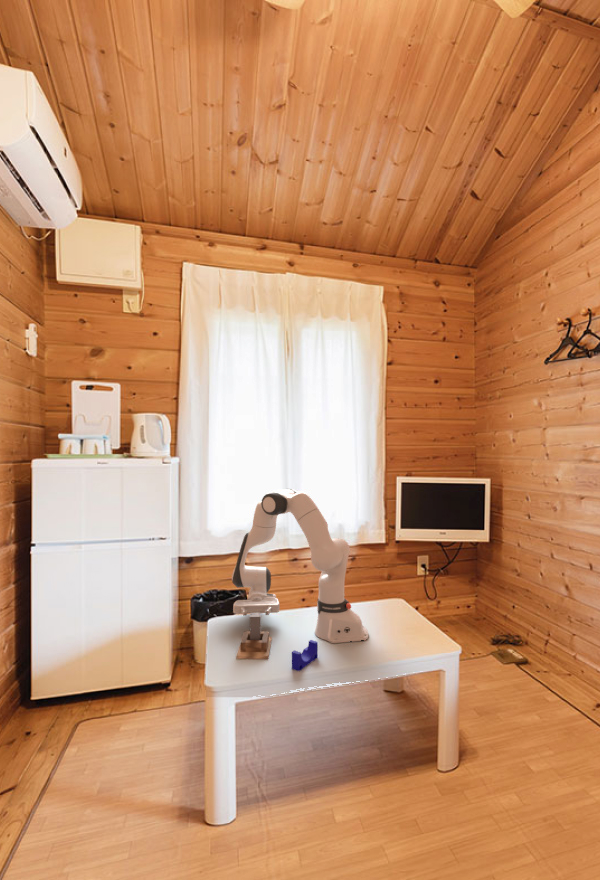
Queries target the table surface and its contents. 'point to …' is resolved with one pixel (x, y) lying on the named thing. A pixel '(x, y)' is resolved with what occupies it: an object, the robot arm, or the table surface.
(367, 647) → the table surface
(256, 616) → the peg
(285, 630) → the table surface
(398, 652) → the table surface
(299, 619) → the table surface
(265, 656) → the socket board
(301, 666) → the blue cradle bracket
